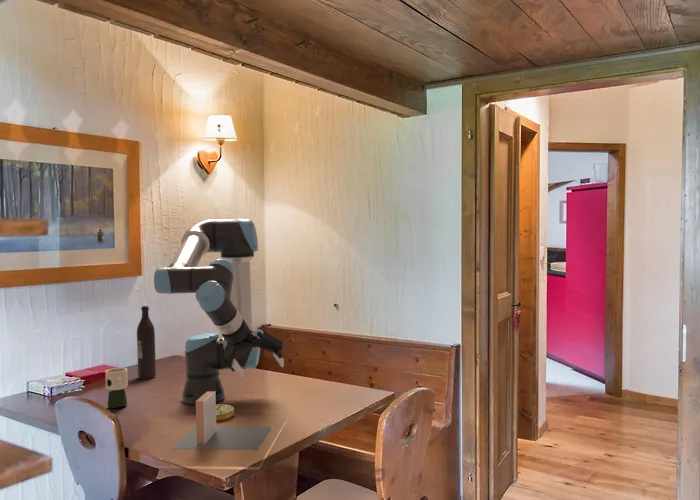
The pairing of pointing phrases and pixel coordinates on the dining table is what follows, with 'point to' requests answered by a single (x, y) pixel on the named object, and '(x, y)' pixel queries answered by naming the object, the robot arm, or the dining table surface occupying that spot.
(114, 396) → the character mug
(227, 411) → the decorated donut
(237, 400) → the dining table surface
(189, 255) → the robot arm
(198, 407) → the terracotta tile
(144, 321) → the wine bottle
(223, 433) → the slate mat
